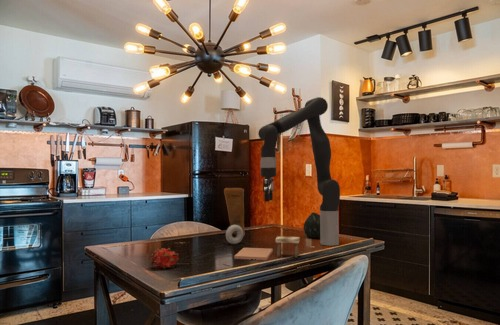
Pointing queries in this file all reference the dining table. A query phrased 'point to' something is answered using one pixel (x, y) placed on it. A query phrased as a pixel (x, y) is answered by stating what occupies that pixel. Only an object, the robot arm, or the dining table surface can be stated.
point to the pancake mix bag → (235, 206)
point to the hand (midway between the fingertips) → (268, 200)
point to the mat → (254, 253)
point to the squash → (312, 226)
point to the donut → (231, 230)
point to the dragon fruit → (164, 258)
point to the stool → (287, 240)
